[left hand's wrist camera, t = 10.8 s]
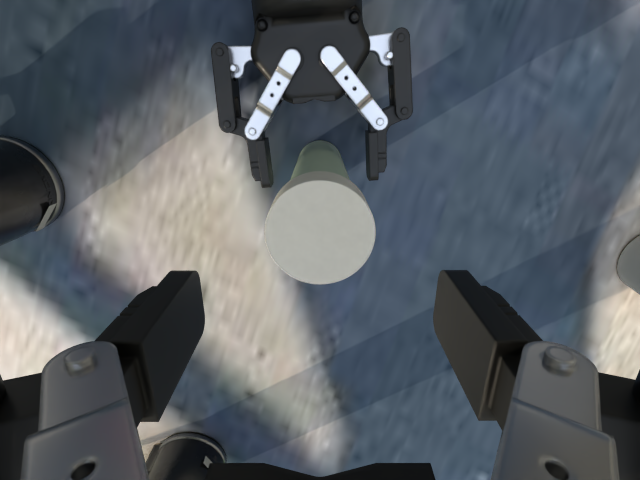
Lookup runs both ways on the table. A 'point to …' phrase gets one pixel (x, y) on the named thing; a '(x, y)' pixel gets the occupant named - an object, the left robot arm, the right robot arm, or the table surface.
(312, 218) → the lid
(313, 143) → the pale green cylinder
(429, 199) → the table surface
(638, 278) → the coffee cup
